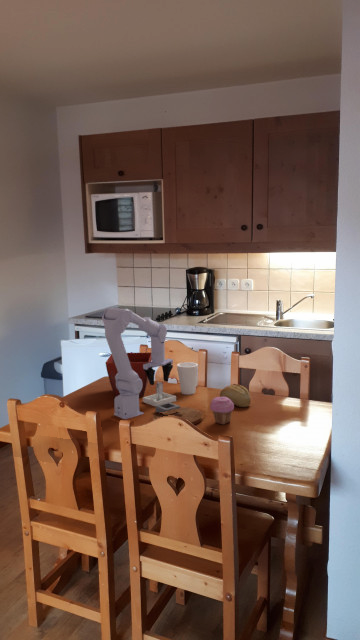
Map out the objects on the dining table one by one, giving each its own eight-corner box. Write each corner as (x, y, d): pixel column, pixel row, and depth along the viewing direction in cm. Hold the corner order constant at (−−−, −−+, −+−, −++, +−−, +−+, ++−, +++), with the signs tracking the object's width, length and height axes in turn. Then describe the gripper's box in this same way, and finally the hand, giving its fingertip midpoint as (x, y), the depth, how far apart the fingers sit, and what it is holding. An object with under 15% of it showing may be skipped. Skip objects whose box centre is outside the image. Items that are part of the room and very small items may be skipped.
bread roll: (229, 397, 224) (229, 379, 223) (256, 404, 213) (256, 386, 212) (214, 402, 218) (214, 384, 217) (241, 410, 207) (241, 391, 206)
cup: (166, 417, 201) (166, 409, 201) (155, 412, 207) (155, 405, 206) (180, 412, 206) (179, 405, 205) (169, 408, 211) (168, 401, 211)
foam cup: (199, 389, 237) (198, 362, 235) (197, 395, 228) (197, 367, 226) (178, 389, 238) (178, 362, 236) (176, 395, 229) (175, 367, 227)
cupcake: (224, 428, 188) (224, 402, 186) (206, 423, 193) (205, 397, 192) (238, 421, 194) (238, 396, 193) (220, 416, 200) (219, 392, 199)
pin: (158, 402, 218) (158, 384, 216) (155, 400, 220) (154, 382, 219) (164, 401, 219) (164, 383, 218) (160, 399, 222) (160, 381, 221)
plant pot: (150, 399, 225) (148, 361, 222) (106, 399, 225) (105, 362, 223) (153, 386, 244) (152, 352, 241) (113, 387, 244) (111, 353, 242)
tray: (155, 407, 213) (155, 402, 213) (143, 402, 220) (142, 397, 219) (176, 401, 220) (176, 396, 220) (163, 397, 227) (163, 392, 226)
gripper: (149, 355, 209) (151, 388, 211) (177, 350, 218) (177, 381, 220) (139, 353, 214) (140, 384, 216) (166, 348, 223) (167, 378, 225)
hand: (158, 382), depth 219 cm, fingers open, 7 cm apart
